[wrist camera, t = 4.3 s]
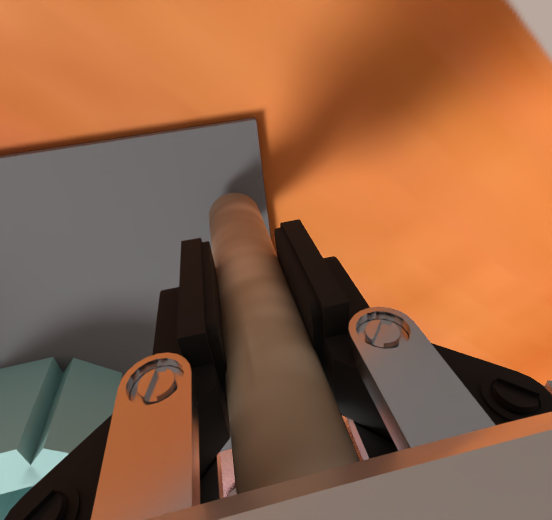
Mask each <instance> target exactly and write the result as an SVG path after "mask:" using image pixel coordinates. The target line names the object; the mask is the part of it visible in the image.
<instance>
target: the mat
mask: <svg viewBox="0 0 552 520" xmlns="http://www.w3.org/2000/svg"><path fill="white" fill-rule="evenodd" d="M229 193H241V194H244V195H247V196H249V197H250V198H251V199H253V200H254V201H255V203H256V204H257V206H258V208H259V211H260V213H261V216H262V218H263V221H264V223H265V226H266V228H267V231H268V233H269V236H270V229H269V221H268V213H267V205H266V196H265V188H264V180H263V172H262V164H261V156H260V147H259V139H258V131H257V123H256V119H255V118H248V119H242V120H235V121H228V122H222V123H215V124H208V125H202V126H195V127H189V128H182V129H175V130H169V131H162V132H155V133H149V134H142V135H135V136H129V137H122V138H116V139H109V140H102V141H96V142H89V143H82V144H76V145H69V146H63V147H56V148H49V149H43V150H36V151H29V152H23V153H16V154H9V155H3V156H0V369H1V368H6V367H10V366H15V365H19V364H24V363H28V362H32V361H37V360H41V359H46V358H50V357H54V359H55V361H56V362H57V364H58V365H59V367H60V368H61V370H62V372H64V371H65V369H66V368H67V366H68V365H69V363H70V362H71V361H72V359H73V358H76V359H79V360H82V361H86V362H89V363H92V364H95V365H99V366H102V367H105V368H108V369H112V370H115V371H118V372H121V373H122V378H123V376H124V375H125V374H126V373H127V371H128V370H129V369H130V368H131V367H133V366H134V365H135V364H136V363H137V362H139V361H141V360H143V359H145V358H146V357H149V356H152V354H153V346H154V337H155V329H156V321H157V312H158V304H159V296H160V291H162V290H166V289H171V288H176V287H179V279H180V256H181V241H184V240H190V239H195V238H201V239H202V242H206V241H209V242H210V246H211V237H210V227H209V211H210V208H211V206H212V204H213V203H214V202H215V201H216V200H217V199H218V198H219V197H221V196H223V195H225V194H229ZM270 238H271V237H270ZM211 250H212V247H211ZM122 378H121V379H122ZM228 449H232V444H231V436H230V439H229V440H228V442H227V443H226V444H225V446H224V447H223V448H222V449H221V451H224V450H228ZM221 451H220V452H221Z"/></svg>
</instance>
